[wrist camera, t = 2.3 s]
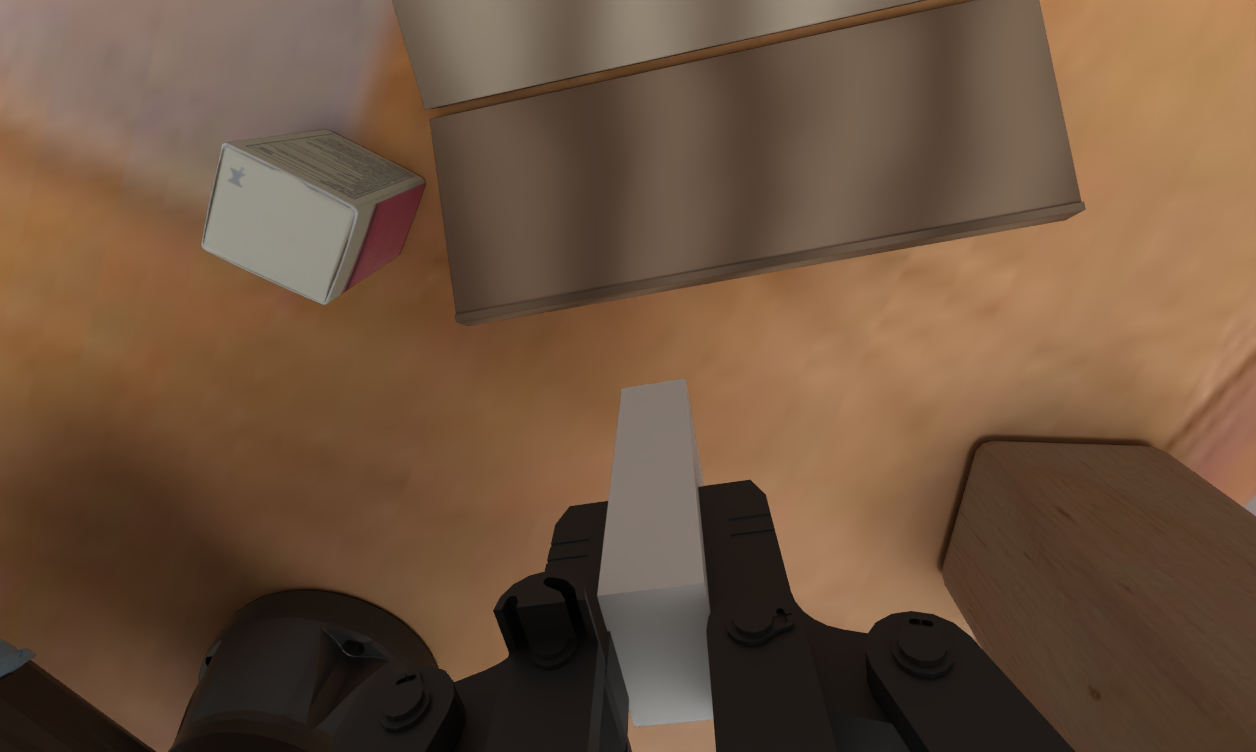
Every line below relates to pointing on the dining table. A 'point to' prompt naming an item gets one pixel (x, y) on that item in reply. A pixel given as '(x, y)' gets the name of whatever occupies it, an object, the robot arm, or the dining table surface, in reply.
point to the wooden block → (1111, 594)
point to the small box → (309, 211)
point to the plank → (757, 162)
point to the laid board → (581, 36)
